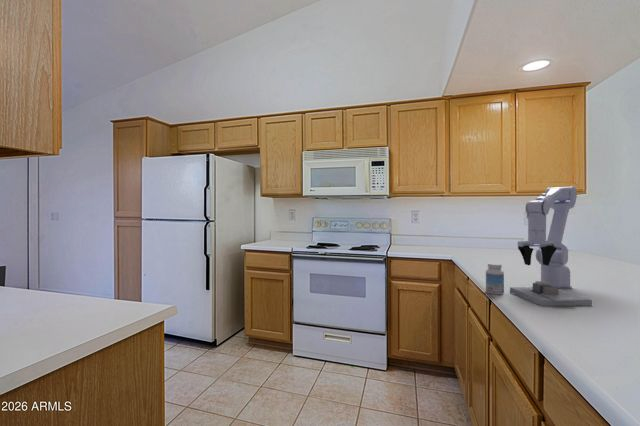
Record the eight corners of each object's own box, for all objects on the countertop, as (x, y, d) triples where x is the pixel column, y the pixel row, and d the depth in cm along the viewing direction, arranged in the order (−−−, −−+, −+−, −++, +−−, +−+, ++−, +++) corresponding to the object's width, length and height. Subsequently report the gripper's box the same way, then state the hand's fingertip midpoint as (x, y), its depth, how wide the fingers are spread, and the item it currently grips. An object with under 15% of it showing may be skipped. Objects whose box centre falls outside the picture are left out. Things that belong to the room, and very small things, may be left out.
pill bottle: (507, 294, 111) (507, 265, 110) (491, 294, 111) (491, 265, 111) (498, 290, 117) (498, 262, 117) (482, 290, 117) (482, 262, 117)
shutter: (558, 294, 103) (558, 286, 103) (574, 300, 96) (575, 291, 96) (540, 294, 103) (540, 286, 103) (555, 300, 96) (555, 291, 96)
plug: (544, 296, 108) (544, 280, 108) (551, 299, 104) (551, 283, 104) (532, 296, 109) (532, 280, 109) (539, 299, 105) (539, 283, 105)
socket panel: (553, 292, 114) (553, 287, 114) (591, 305, 98) (591, 299, 98) (510, 292, 114) (510, 287, 114) (541, 305, 98) (541, 299, 98)
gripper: (546, 230, 120) (545, 263, 120) (512, 229, 119) (511, 263, 119) (561, 231, 113) (560, 266, 113) (525, 230, 112) (525, 266, 112)
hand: (536, 264), depth 115 cm, fingers open, 7 cm apart
